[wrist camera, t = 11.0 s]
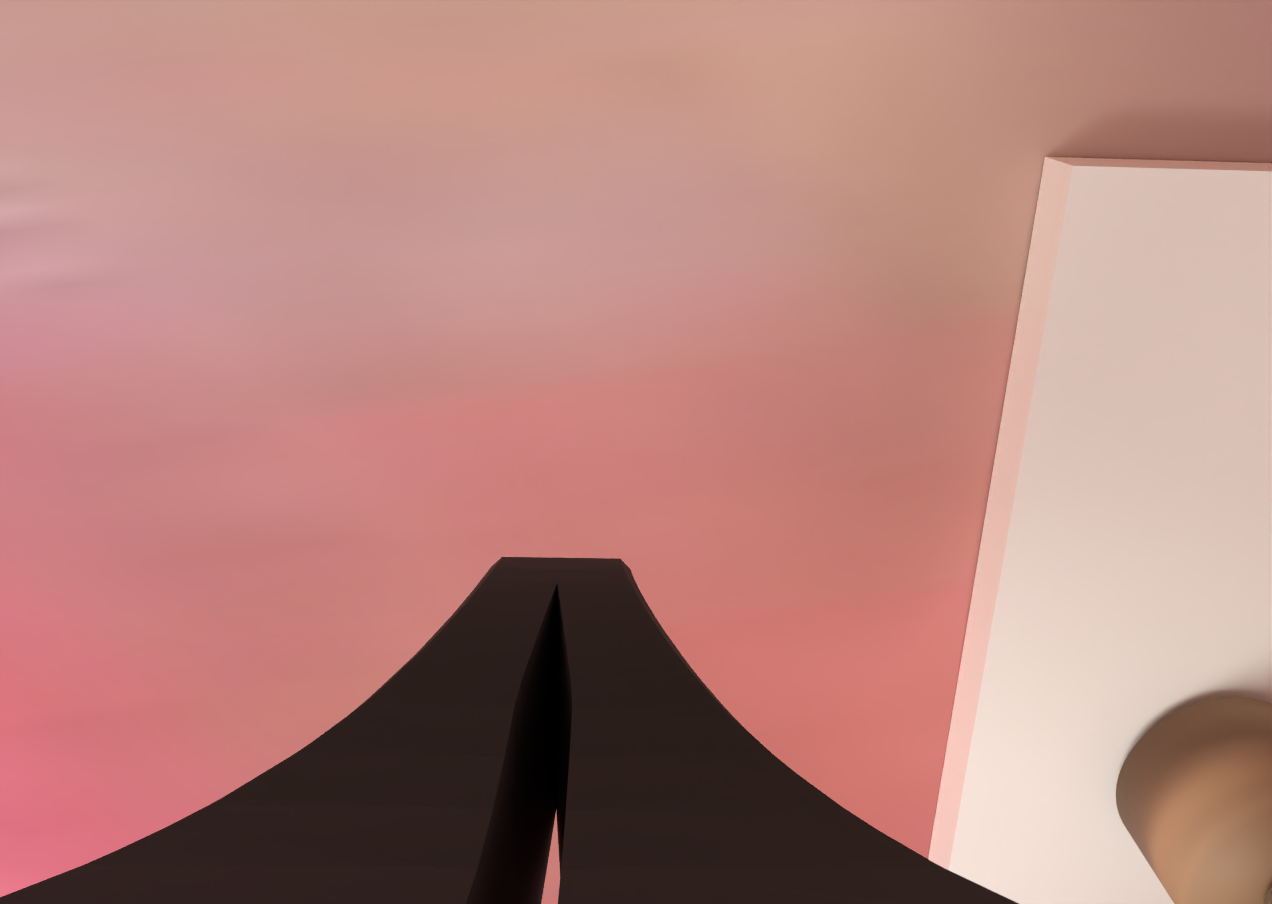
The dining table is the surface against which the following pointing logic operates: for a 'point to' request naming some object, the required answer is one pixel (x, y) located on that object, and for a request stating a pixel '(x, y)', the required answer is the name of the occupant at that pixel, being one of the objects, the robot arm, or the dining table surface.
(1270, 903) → the metal pin
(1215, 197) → the white plate
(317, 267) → the dining table surface
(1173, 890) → the walnut link
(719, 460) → the dining table surface
